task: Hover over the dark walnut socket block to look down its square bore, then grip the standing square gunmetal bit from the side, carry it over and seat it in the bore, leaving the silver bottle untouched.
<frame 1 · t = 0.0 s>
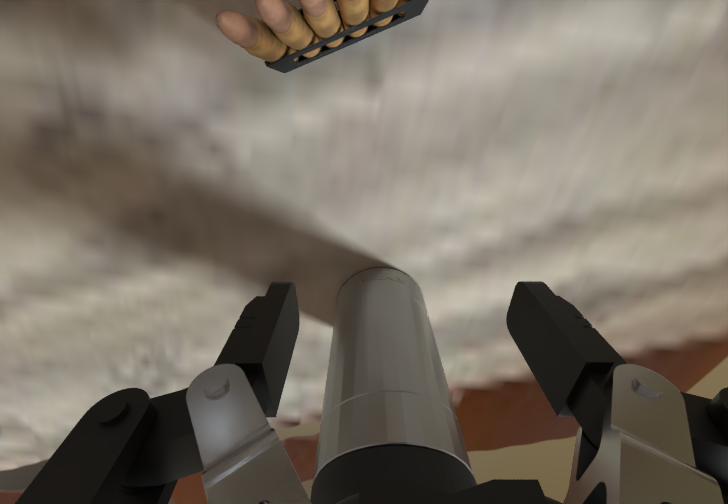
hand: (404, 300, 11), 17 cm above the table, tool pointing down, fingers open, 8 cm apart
ammunition clip: (345, 30, 21), on the table
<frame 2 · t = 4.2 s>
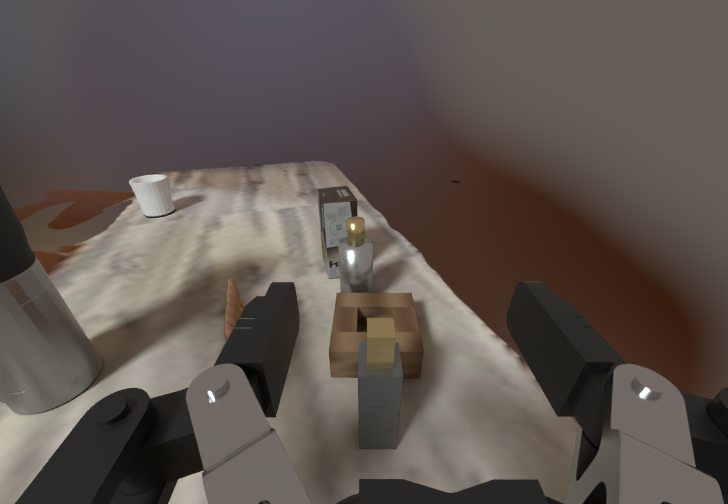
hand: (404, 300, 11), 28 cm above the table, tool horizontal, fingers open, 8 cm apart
silver bottle: (356, 301, 54), on the table
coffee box: (339, 266, 65), on the table
socket block: (374, 343, 46), on the table
ammunition clip: (247, 365, 43), on the table
mug: (163, 212, 91), on the table
square bit: (377, 430, 35), on the table
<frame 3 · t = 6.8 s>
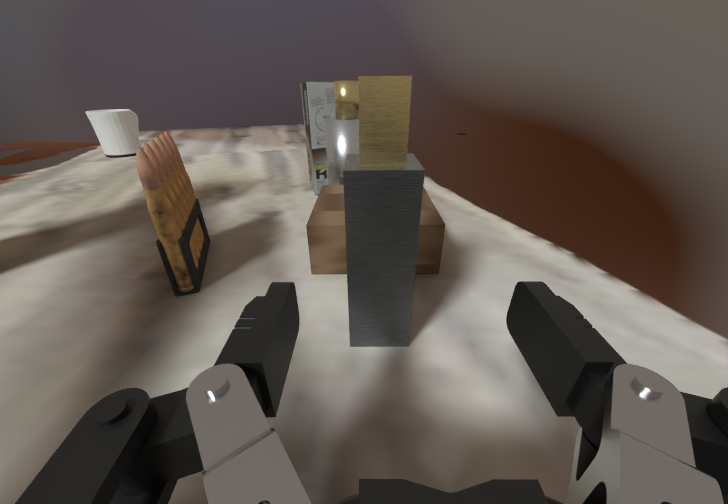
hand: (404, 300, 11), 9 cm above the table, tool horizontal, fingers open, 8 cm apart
silver bottle: (350, 211, 42), on the table
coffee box: (330, 187, 53), on the table
socket block: (373, 244, 34), on the table
ammunition clip: (196, 265, 30), on the table
mug: (129, 154, 79), on the table
square bit: (378, 325, 22), on the table
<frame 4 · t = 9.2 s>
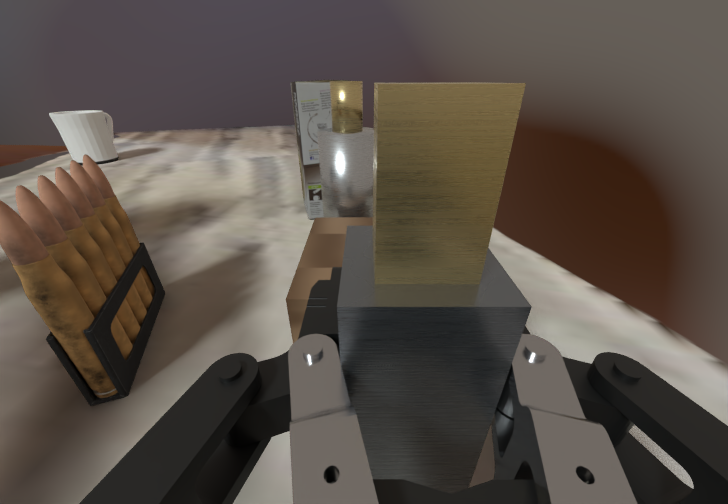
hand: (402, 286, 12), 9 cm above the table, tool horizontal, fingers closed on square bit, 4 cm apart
silver bottle: (350, 244, 34), on the table
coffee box: (326, 207, 44), on the table
socket block: (381, 301, 25), on the table
ammunition clip: (136, 339, 22), on the table
mug: (102, 161, 71), on the table
square bit: (396, 481, 14), on the table, touching gripper
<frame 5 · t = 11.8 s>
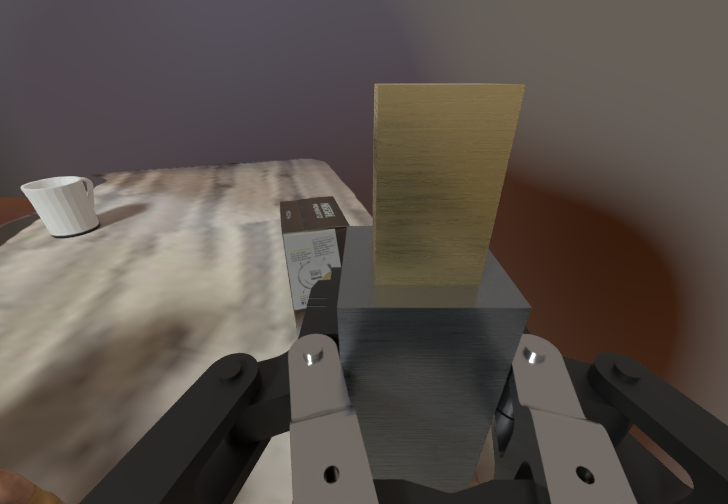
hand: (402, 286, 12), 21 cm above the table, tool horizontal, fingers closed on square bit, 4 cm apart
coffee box: (322, 328, 39), on the table
mug: (82, 228, 65), on the table
square bit: (396, 481, 14), point 12 cm above the table, touching gripper
when the fingers open (11 cm above the table, at t = 14.5 s): square bit drops 1 cm, resting on socket block.
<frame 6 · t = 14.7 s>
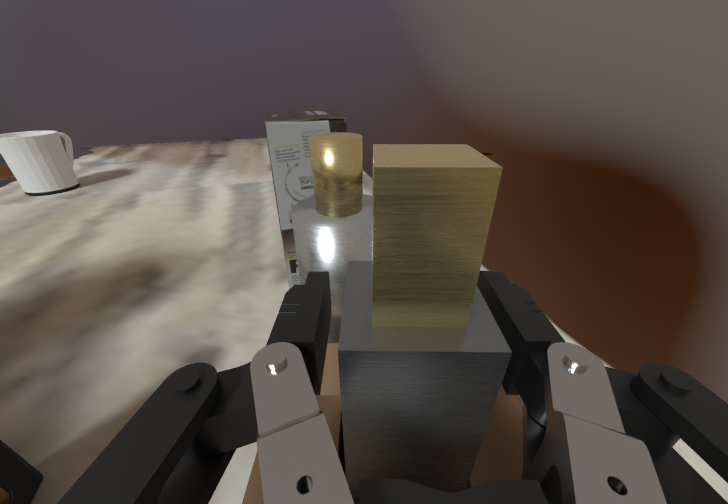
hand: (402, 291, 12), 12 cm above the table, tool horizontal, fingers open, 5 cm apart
silver bottle: (345, 350, 24), on the table
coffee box: (316, 269, 34), on the table
mug: (60, 188, 61), on the table
square bit: (394, 494, 15), point 1 cm above the table, touching socket block
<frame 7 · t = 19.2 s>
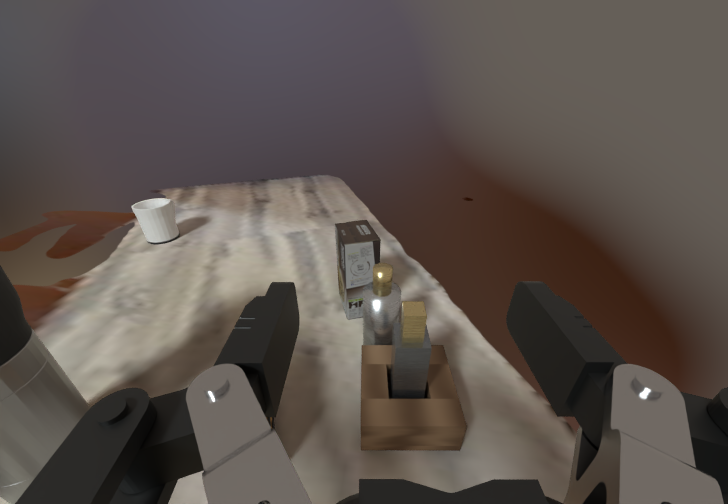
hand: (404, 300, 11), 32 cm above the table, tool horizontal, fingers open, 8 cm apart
silver bottle: (380, 348, 50), on the table
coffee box: (357, 303, 61), on the table
socket block: (404, 404, 42), on the table
mug: (167, 236, 87), on the table
square bit: (404, 398, 41), point 1 cm above the table, touching socket block
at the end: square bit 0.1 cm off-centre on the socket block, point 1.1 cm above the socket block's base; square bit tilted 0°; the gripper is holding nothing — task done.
